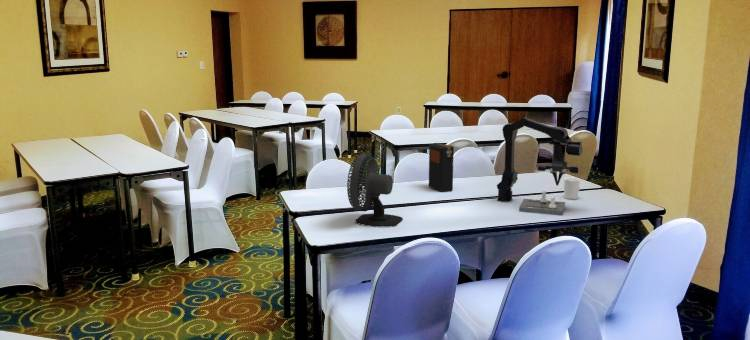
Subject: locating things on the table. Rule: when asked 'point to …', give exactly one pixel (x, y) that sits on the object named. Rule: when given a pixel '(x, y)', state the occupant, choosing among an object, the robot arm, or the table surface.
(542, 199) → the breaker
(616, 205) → the table surface
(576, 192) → the white cup
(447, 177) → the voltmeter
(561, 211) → the board
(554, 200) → the block
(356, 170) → the fan
